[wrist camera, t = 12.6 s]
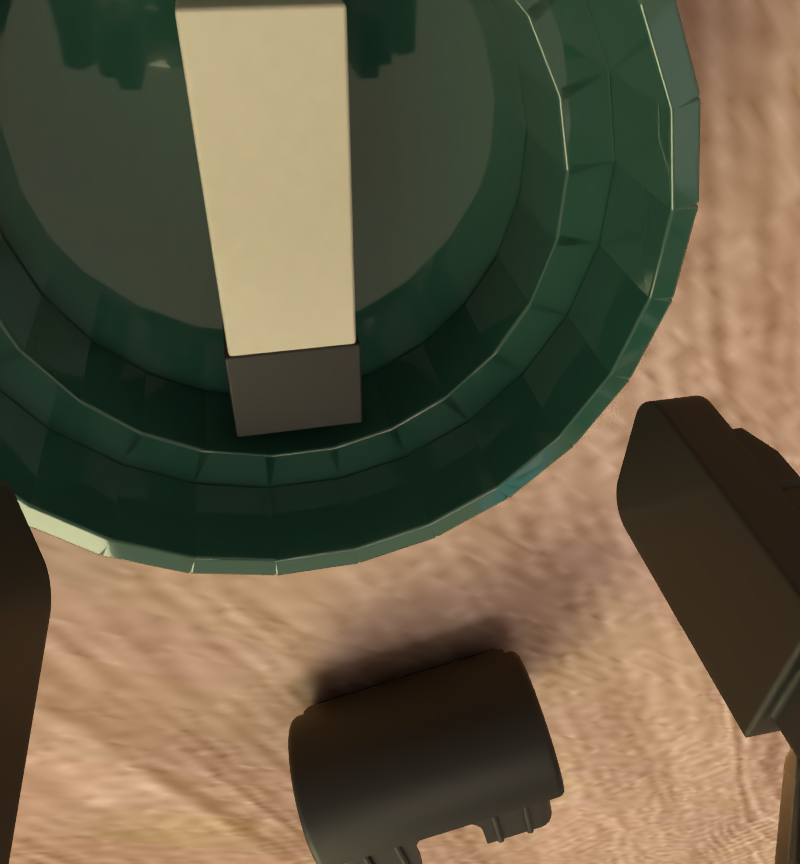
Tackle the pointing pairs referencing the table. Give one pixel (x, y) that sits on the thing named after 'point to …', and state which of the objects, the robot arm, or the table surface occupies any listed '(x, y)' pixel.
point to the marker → (278, 203)
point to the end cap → (423, 762)
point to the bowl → (373, 274)
